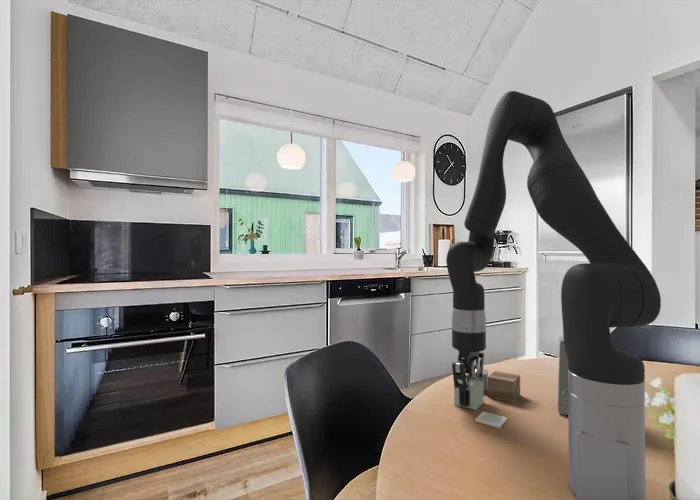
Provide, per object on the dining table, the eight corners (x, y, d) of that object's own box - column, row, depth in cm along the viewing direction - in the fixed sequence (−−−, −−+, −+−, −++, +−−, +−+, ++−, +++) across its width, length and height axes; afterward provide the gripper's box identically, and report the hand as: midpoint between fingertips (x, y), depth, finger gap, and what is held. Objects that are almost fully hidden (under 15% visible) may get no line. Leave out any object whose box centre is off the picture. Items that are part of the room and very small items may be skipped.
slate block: (486, 392, 97) (486, 374, 97) (468, 389, 99) (468, 372, 99) (487, 386, 101) (487, 369, 101) (470, 384, 103) (470, 367, 103)
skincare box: (558, 414, 83) (557, 341, 84) (557, 403, 90) (557, 334, 90) (604, 422, 80) (604, 345, 80) (601, 410, 86) (600, 338, 86)
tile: (499, 428, 77) (499, 424, 77) (475, 421, 80) (475, 418, 80) (507, 419, 81) (507, 416, 81) (483, 413, 84) (483, 410, 84)
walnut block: (513, 403, 90) (513, 381, 90) (487, 397, 94) (487, 376, 94) (520, 395, 95) (520, 375, 95) (495, 390, 99) (495, 370, 99)
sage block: (475, 409, 86) (475, 387, 86) (454, 404, 89) (454, 382, 89) (483, 402, 90) (483, 381, 90) (462, 398, 93) (462, 377, 93)
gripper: (473, 335, 82) (473, 416, 82) (495, 325, 93) (495, 396, 93) (440, 331, 86) (440, 407, 86) (464, 322, 98) (464, 389, 98)
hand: (469, 401), depth 90 cm, fingers closed on sage block, 5 cm apart
